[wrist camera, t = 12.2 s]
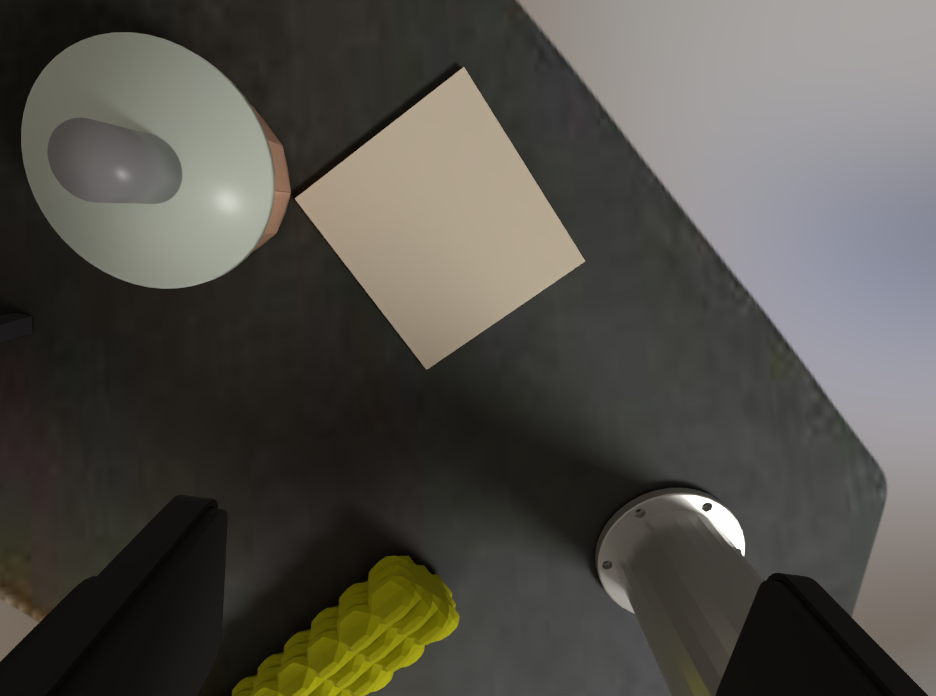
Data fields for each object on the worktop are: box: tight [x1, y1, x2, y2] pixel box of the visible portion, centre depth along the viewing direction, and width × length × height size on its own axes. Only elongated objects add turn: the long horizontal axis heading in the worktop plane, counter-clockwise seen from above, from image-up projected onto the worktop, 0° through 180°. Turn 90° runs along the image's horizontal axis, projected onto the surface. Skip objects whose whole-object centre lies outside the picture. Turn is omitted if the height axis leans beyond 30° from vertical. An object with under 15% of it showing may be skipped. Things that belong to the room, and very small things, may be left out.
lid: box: [21, 32, 275, 289], centre depth 24 cm, size 13×13×5 cm
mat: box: [295, 67, 585, 370], centre depth 34 cm, size 15×14×1 cm
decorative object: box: [232, 556, 459, 696], centre depth 41 cm, size 7×33×7 cm, turn 134°
